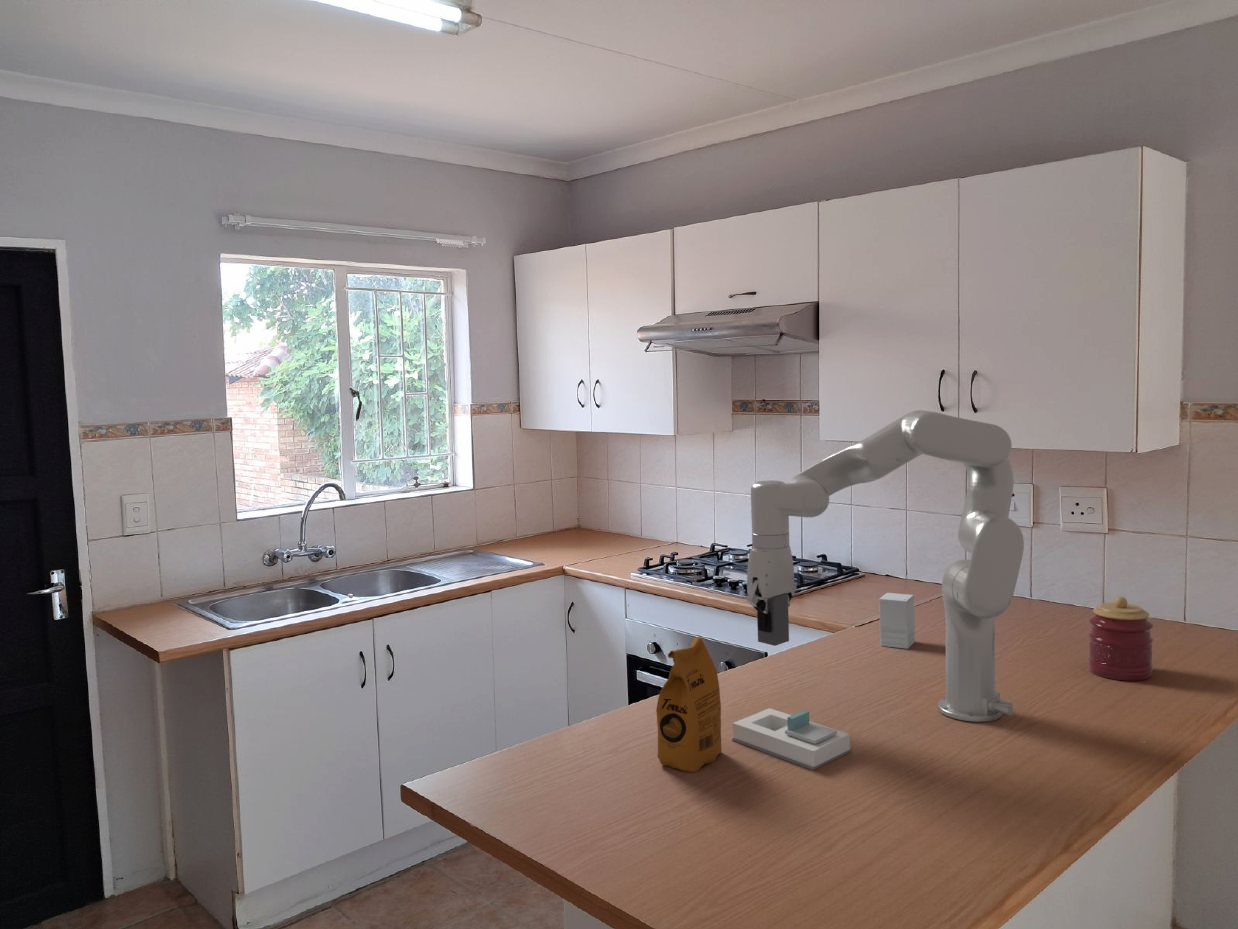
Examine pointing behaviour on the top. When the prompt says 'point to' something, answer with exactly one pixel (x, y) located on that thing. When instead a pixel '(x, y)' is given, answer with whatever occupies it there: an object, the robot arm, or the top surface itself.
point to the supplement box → (897, 620)
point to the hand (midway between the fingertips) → (773, 627)
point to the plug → (776, 622)
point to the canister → (1120, 641)
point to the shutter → (807, 728)
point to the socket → (788, 740)
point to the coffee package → (689, 710)
